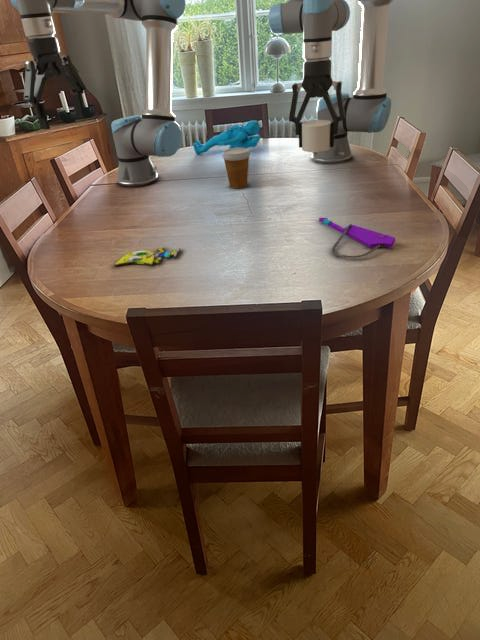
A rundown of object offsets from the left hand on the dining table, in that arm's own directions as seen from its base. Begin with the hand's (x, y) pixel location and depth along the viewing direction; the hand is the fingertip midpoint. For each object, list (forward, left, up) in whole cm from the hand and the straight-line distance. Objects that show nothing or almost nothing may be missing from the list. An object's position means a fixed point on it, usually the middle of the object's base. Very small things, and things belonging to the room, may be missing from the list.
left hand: (64, 123), depth 136 cm
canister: (+30, +66, -13) cm, 73 cm away
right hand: (+30, +66, -12) cm, 73 cm away
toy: (-46, +70, -29) cm, 89 cm away
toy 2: (+39, +8, -29) cm, 49 cm away
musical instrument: (+60, +55, -29) cm, 86 cm away
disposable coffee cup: (0, +53, -29) cm, 60 cm away
